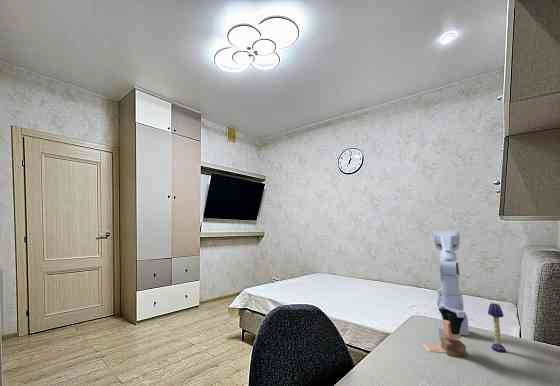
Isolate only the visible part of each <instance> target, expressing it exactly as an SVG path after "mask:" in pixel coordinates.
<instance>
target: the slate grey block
mask: <svg viewBox="0 0 560 386" xmlns="http://www.w3.org/2000/svg"><path fill="white" fill-rule="evenodd" d="M441 337H444V338H448V337H447V336H446V335H445V334H444V328H443V327H438V338H439V341H440V342H441ZM454 339H456V338H454Z"/></svg>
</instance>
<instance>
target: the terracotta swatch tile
mask: <svg viewBox="0 0 560 386" xmlns="http://www.w3.org/2000/svg"><path fill="white" fill-rule="evenodd" d="M422 346H423V347H424V348H425V349H426V350H427V351H428V352H433V353H445V354H446V352H445V351H444V350H443V349H442V348H441V345H439V344H432V343H422Z"/></svg>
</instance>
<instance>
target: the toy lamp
mask: <svg viewBox="0 0 560 386" xmlns="http://www.w3.org/2000/svg"><path fill="white" fill-rule="evenodd" d="M487 310H488V311H487V314H488V315H489V316H491V317H493V326H494V329H493V330H494V343H493V344H491V349H492V350H494V351H495V352H499V353H506V352H507V349H506V347H504V345H502V342H501V341H502V339H501V329H500V327H501V326H500V325H501V324H500V318H503V317H504V313H503V311H502V307H501V305H500V304H498V303H493V302H492V303H490V304H489V306H488V309H487Z"/></svg>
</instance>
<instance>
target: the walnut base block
mask: <svg viewBox="0 0 560 386" xmlns="http://www.w3.org/2000/svg"><path fill="white" fill-rule="evenodd" d="M440 347H441V348H442V349H443V350H444V351H445V352H446V353H445V354H446V355H447V356H451V357H462V358H467V346H466V345H465V344H464V343H463V342H462V341H461V340H460V339H454V338H444V337H441V341H440Z"/></svg>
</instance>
